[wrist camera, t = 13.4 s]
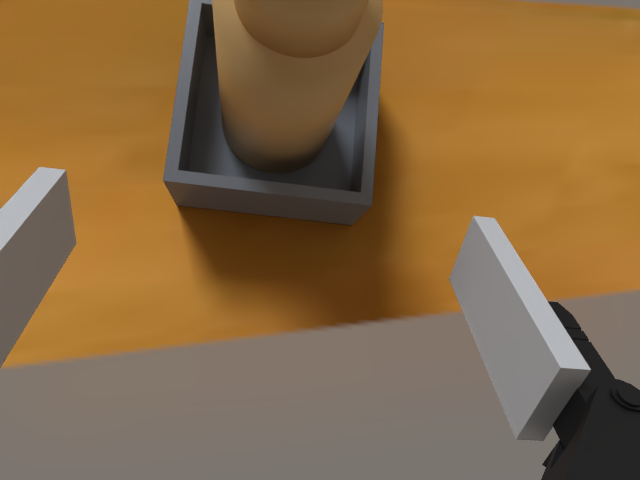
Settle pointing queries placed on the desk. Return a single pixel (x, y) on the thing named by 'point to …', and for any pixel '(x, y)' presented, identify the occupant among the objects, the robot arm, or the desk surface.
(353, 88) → the grey open square box
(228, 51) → the beige rounded figurine
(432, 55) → the desk surface
